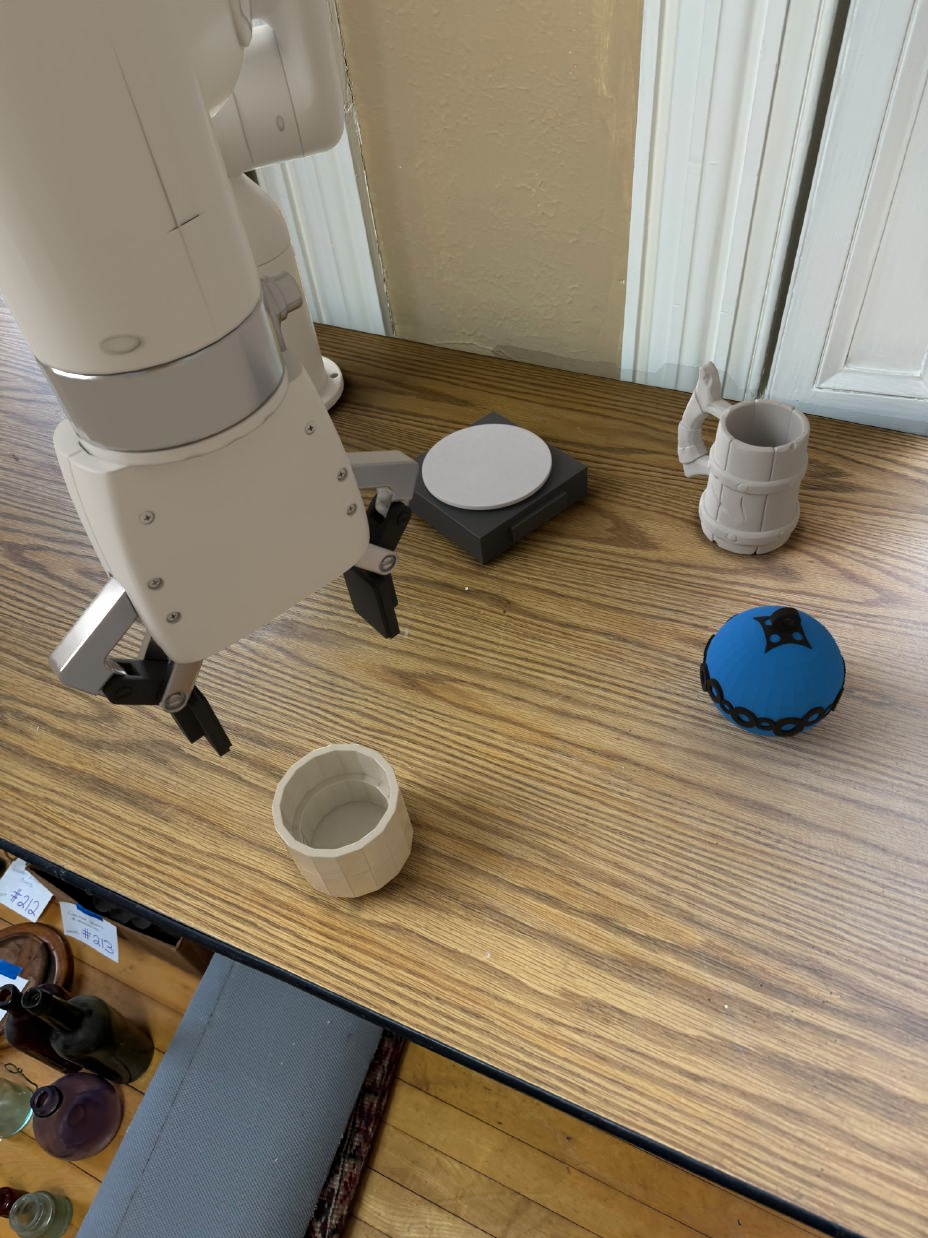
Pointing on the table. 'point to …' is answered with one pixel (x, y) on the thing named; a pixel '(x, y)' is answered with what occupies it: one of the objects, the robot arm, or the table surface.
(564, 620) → the table surface
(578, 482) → the scale
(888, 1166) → the table surface
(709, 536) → the mug
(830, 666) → the ornament
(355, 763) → the off-white faceted cup
